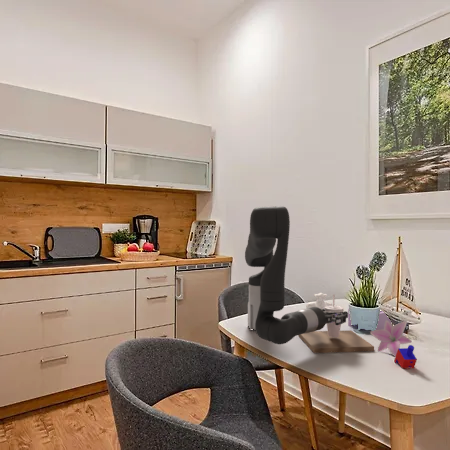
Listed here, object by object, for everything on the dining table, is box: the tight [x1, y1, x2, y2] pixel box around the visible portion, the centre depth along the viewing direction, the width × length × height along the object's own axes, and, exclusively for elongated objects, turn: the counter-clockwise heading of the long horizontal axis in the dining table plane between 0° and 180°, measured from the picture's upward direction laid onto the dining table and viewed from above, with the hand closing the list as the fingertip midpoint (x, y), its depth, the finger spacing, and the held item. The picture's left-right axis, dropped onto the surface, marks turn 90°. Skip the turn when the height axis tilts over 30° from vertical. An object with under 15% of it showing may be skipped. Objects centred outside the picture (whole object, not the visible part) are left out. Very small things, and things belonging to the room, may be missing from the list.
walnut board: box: [297, 329, 375, 354], centre depth 132 cm, size 20×18×2 cm
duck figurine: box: [305, 292, 333, 309], centre depth 170 cm, size 12×8×11 cm
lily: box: [369, 320, 413, 358], centre depth 124 cm, size 12×12×10 cm
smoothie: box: [324, 294, 345, 337], centre depth 132 cm, size 6×6×14 cm
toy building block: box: [393, 344, 418, 369], centre depth 111 cm, size 4×4×8 cm
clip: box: [347, 307, 392, 330], centre depth 153 cm, size 20×12×7 cm, turn 102°
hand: (337, 312), depth 134 cm, fingers closed on smoothie, 6 cm apart
